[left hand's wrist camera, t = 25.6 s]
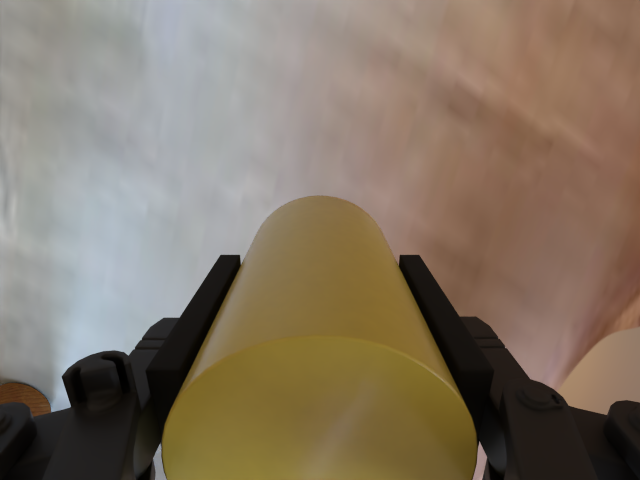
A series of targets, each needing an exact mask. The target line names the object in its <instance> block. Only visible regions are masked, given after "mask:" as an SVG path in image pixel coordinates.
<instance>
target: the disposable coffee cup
mask: <svg viewBox="0 0 640 480" xmlns="http://www.w3.org/2000/svg"><path fill="white" fill-rule="evenodd" d="M10 402H19V403H25V404H26V405H27V406H28V407H30V410H31V412H32V415H33V417H34V416H39V415H43V414H47V413H51V407H50V404H49V402H48V400H47V399H46V398H45V397H44V396H43V395H42V394H41V393H40V392H39V391H37V390H36V389H34V388H32V387H30V386H27V385H24V384H20V383H7V384H3V385H1V386H0V404H5V403H10Z"/></svg>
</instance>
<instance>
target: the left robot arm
mask: <svg viewBox="0 0 640 480" xmlns="http://www.w3.org/2000/svg"><path fill="white" fill-rule="evenodd" d="M240 266H241V262H240V255H220V257H219V258H218V260H217V261H216V263H215V264H214V266H213V267H212V269H211V271H210V272H209V274H208V275H207V277H206V278H205V280H204V281H203V283H202V284H201V286H200V287H199V289H198V290H197V292H196V294H195V295H194V297H193V298H192V300H191V301H190V303H189V304H188V306H187V307H186V309H185V310H184V312H183V313H182V315H181V316H180V318H163V319H161V320H160V321H159V322H157V323H156V324H154V325H153V326H151V327H150V328H149V330H148V331H147V332H146V334H145V335H144V336H143V337H142V340H140V341H139V343H138V344H137V345H136V347H135V350H133V351H132V352H131V353H130V355H129V356H128V355H127V354H125V353H124V352H120V351H103V352H99V353H96V354H92V355H90V356H87V357H85V358H83V359H81V360H79V361H77V362H76V363H75V364H73V365H72V366H71V367H69V368H68V369H67V370H66V372H65V373H64V374H63V376H62V379H63V382H64V385H65V388H66V392H67V395H68V398H69V401H70V404H71V408H67V409H64V410H60V411H56V412H51V413H47V414H43V415H39V416H34V417H33V415H32V412H31V410H30V407H28V406H27V405H26V404H25V403H19V402H10V403H5V404H0V480H155V466H154V461H153V457H154V455H155V453H156V450H157V448H158V446H159V444H160V442H161V446H162V435H163V430H164V425H165V422H166V420H167V417H168V415H169V412H170V410H171V408H172V406H173V403H174V401H175V399H176V397H177V395H178V393H179V391H180V389H181V387H182V385H183V383H184V381H185V379H186V377H187V375H188V373H189V371H190V369H191V367H192V365H193V363H194V360H195V358H196V356H197V354H198V352H199V350H200V348H201V346H202V344H203V342H204V340H205V338H206V336H207V334H208V332H209V330H210V328H211V326H212V324H213V322H214V320H215V317H216V315H217V313H218V311H219V309H220V307H221V305H222V303H223V301H224V299H225V297H226V295H227V293H228V291H229V289H230V287H231V285H232V283H233V281H234V279H235V277H236V274H237V272H238V270H239V268H240ZM399 268H400V270H401V272H402V274H403V276H404V278H405V280H406V282H407V284H408V286H409V288H410V290H411V293H412V295H413V297H414V299H415V301H416V303H417V305H418V307H419V309H420V311H421V313H422V315H423V317H424V319H425V321H426V324H427V326H428V328H429V330H430V332H431V334H432V336H433V338H434V340H435V342H436V344H437V346H438V348H439V350H440V353H441V355H442V357H443V359H444V361H445V363H446V365H447V367H448V369H449V371H450V373H451V375H452V377H453V379H454V381H455V384H456V386H457V388H458V390H459V392H460V394H461V396H462V398H463V400H464V402H465V404H466V406H467V408H468V410H469V412H470V415H471V417H472V420H473V423H474V427H475V430H476V435H477V445H479V441H480V443H481V445H482V447H483V449H484V451H485V453H486V455H487V461H486V466H485V470H484V474H483V479H482V480H640V403H639V402H633V401H628V400H625V401H617V402H615V403H614V404H612V405H611V406H610V409H609V412H608V414H607V415H604V414H599V413H595V412H591V411H587V410H582V409H578V408H574V407H571V406H568V404H567V403H566V401H565V400H564V398H563V397H562V396H561V395H560V394H558V393H557V392H556V391H555V390H554V389H552V388H550V387H548V386H547V385H545V384H543V383H540V382H537V381H534V380H531V379H530V378H529V377H528V376H527V374H526V373H525V372H524V370H523V369H522V368H521V366H520V365H519V364H518V363H517V361H516V360H515V359H514V357H513V356H512V355H511V353H510V352H509V351H508V349H507V348H505V345H504V344H503V343H502V342H501V340H500V339H498V336H497V335H496V334H495V332H494V331H493V330H492V328H491V327H490V326H489V325H487V324H486V323H485V322H483V321H482V320H480V319H479V318H477V317H459V315H458V314H457V312H456V311H455V309H454V308H453V306H452V305H451V303H450V302H449V300H448V298H447V297H446V295H445V294H444V292H443V291H442V289H441V288H440V286H439V285H438V283H437V282H436V280H435V279H434V277H433V275H432V274H431V272H430V271H429V269H428V268H427V266H426V265H425V263H424V262H423V260H422V259H421V257H420V256H419V255H400V260H399Z"/></svg>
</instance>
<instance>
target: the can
mask: <svg viewBox="0 0 640 480" xmlns="http://www.w3.org/2000/svg"><path fill="white" fill-rule="evenodd" d="M477 452H478V445H477V435H476V430H475V427H474V423H473V420H472V417H471V415H470V412H469V410H468V408H467V406H466V404H465V402H464V400H463V398H462V396H461V394H460V392H459V390H458V388H457V386H456V384H455V381H454V379H453V377H452V375H451V373H450V371H449V369H448V367H447V365H446V363H445V361H444V359H443V357H442V355H441V353H440V350H439V348H438V346H437V344H436V342H435V340H434V338H433V336H432V334H431V332H430V330H429V328H428V326H427V324H426V321H425V319H424V317H423V315H422V313H421V311H420V309H419V307H418V305H417V303H416V301H415V299H414V297H413V295H412V293H411V290H410V288H409V286H408V284H407V282H406V280H405V278H404V276H403V274H402V272H401V270H400V268H399V266H398V264H397V262H396V259H395V257H394V255H393V253H392V251H391V249H390V247H389V245H388V243H387V241H386V239H385V237H384V235H383V233H382V231H381V229H380V227H379V226H378V224H377V223H376V221H375V220H374V219H373V218H372V217H371V216H370V215H369V214H368V213H367V212H365V211H364V210H363V209H362V208H360V207H358V206H357V205H355V204H353V203H351V202H349V201H346V200H343V199H340V198H337V197H331V196H308V197H304V198H299V199H296V200H293V201H291V202H289V203H287V204H285V205H283V206H281V207H280V208H278V209H277V210H275V211H274V212H273V213H272V214H271V215H270V216H269V217H268V218H267V219H266V220H265V221H264V222H263V224H262V225H261V227H260V228H259V230H258V232H257V234H256V236H255V238H254V240H253V242H252V244H251V246H250V248H249V250H248V252H247V254H246V256H245V258H244V260H243V262H242V264H241V266H240V268H239V270H238V272H237V274H236V277H235V279H234V281H233V283H232V285H231V287H230V289H229V291H228V293H227V295H226V297H225V299H224V301H223V303H222V305H221V307H220V309H219V311H218V313H217V315H216V317H215V320H214V322H213V324H212V326H211V328H210V330H209V332H208V334H207V336H206V338H205V340H204V342H203V344H202V346H201V348H200V350H199V352H198V354H197V356H196V358H195V360H194V363H193V365H192V367H191V369H190V371H189V373H188V375H187V377H186V379H185V381H184V383H183V385H182V387H181V389H180V391H179V393H178V395H177V397H176V399H175V401H174V403H173V406H172V408H171V410H170V412H169V415H168V417H167V420H166V422H165V425H164V430H163V435H162V453H161V456H162V462H163V468H164V473H165V475H166V478H167V480H472V479H473V476H474V472H475V468H476V464H477Z"/></svg>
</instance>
